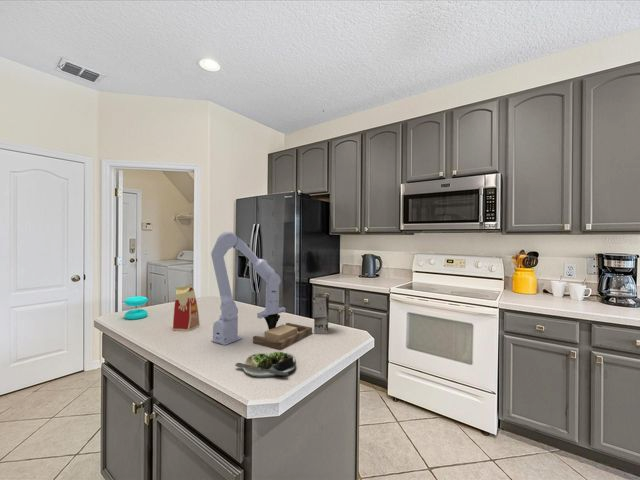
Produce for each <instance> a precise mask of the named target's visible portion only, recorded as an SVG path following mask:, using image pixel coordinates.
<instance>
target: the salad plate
mask: <svg viewBox="0 0 640 480" xmlns="http://www.w3.org/2000/svg"><path fill="white" fill-rule="evenodd" d="M274 364H275V365H274ZM235 367H237V368H239V369H242V370H243V371H244V372H245V374H248V375H250V376H253V377H258V378H262V377H263V378H265V377H267V378H270V377H271V378H273V377H274V378H276V376H281V377H285V375H286V376H289V375H291V374H292V373H294V372H295V370H296V367H297V366H296V356H295V355H294V354H292V353H289V352H283V351H277V352H276V351H275V352H259V353H258V352H257V353H254V354H251V355H249V356H248V357H247V358H246V360H245V363H242V362H237V363H235ZM290 373H291V374H290ZM288 374H289V375H288Z"/></svg>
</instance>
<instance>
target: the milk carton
mask: <svg viewBox="0 0 640 480" xmlns="http://www.w3.org/2000/svg"><path fill="white" fill-rule="evenodd" d="M175 289H176V291H175V298H174V307H173V320H172V331H180V332H182V331H183V332H190V331H192V330H194V329H196V328H197V327H199V326H201V325H200V315H199V308H198V303H197V301H198V300H197V298H196V293H195V289H194V288H193V287H192V284H189V285H184V286H177V287H175Z"/></svg>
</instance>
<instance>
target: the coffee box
mask: <svg viewBox="0 0 640 480" xmlns="http://www.w3.org/2000/svg"><path fill="white" fill-rule="evenodd" d="M329 300H330V297H329V293H315V294H314V309H313V310H314V312H313V313H314V315H313V318H314V319H313V320H314V321H313V326H314V327H313V334H318V335H319V334H320V335H321V334H322V335H323V334H324V335H328V333H329V316H330V315H329V311H330V309H329V307H330V306H329V305H330V301H329Z"/></svg>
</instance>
